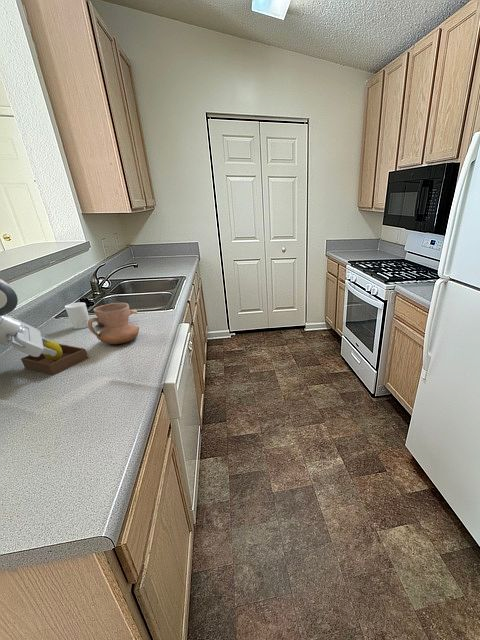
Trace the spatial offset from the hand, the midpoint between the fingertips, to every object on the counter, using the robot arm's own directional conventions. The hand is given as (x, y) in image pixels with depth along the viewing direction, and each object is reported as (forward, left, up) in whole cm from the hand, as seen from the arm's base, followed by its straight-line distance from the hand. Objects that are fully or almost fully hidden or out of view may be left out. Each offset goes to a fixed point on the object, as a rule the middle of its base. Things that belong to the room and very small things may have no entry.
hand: (54, 350), depth 116 cm
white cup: (-25, +29, -5) cm, 39 cm away
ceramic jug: (+5, +22, -5) cm, 23 cm away
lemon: (0, -1, -4) cm, 4 cm away
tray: (0, -1, -5) cm, 5 cm away
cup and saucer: (-14, +36, -5) cm, 39 cm away
